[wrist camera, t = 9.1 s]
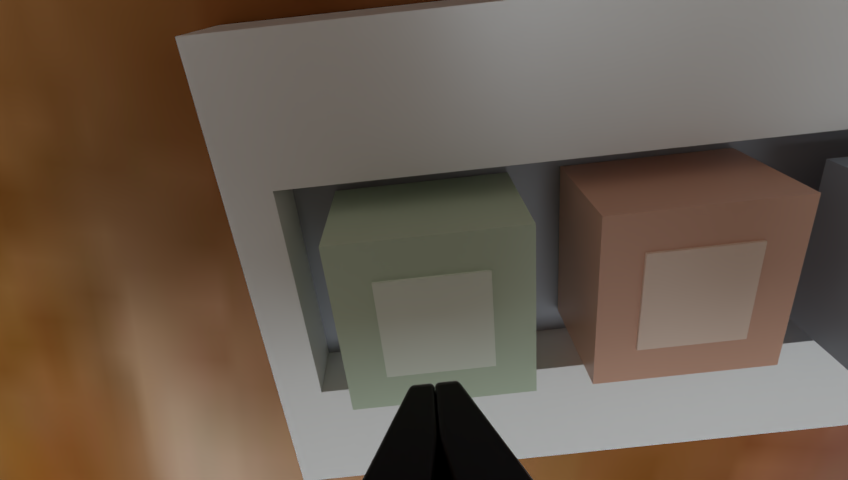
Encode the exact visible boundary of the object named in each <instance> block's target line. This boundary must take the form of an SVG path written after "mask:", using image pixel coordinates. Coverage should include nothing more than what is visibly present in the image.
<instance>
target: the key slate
mask: <svg viewBox="0 0 848 480" xmlns="http://www.w3.org/2000/svg"><path fill="white" fill-rule="evenodd" d="M818 192H820V193H821V196H820V200H819V203H818V207H817V211H816V215H815V219H814V223H813V227H812V231H811V235H810V239H809V243H808V247H807V250H806V254H805V258H804V262H803V266H802V270H801V274H800V278H799V282H798V286H797V290H796V294H795V298H794V301H793V305H792V309H791V313H790V317H789V319H790V320H791V321H792V322H793V323H795V324H796V325H797V326H798V327H799V328H800V329H801V330H803V331H804V332H805V333H806V334H807V335H808V336H809V337H811V338H812V339H813V340H814V341H815V342H816V343H817V344H819V345H820V346H821V347H822V348H823V349H824V350H825V351H827V352H828V353H829V354H830V355H831V356H832V357H833V358H835V359H836V360H837V361H838V362H839V363H840V364H841V365H842V366H844V367H845V368H846V369H847V370H848V157H840V158H830V159H826V163H825V167H824V171H823V175H822V179H821V183H820V187H819V191H818Z"/></svg>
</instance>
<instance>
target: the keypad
mask: <svg viewBox="0 0 848 480" xmlns="http://www.w3.org/2000/svg"><path fill="white" fill-rule="evenodd" d="M175 39H176V43H177V46H178V49H179V53H180V56H181V60H182V63H183V67H184V70H185V74H186V77H187V80H188V84H189V87H190V91H191V94H192V98H193V101H194V104H195V108H196V111H197V115H198V118H199V122H200V125H201V129H202V132H203V135H204V139H205V142H206V146H207V149H208V153H209V156H210V159H211V163H212V166H213V170H214V173H215V177H216V180H217V184H218V187H219V190H220V194H221V197H222V201H223V204H224V208H225V211H226V214H227V218H228V221H229V225H230V228H231V232H232V235H233V239H234V242H235V245H236V249H237V252H238V256H239V259H240V263H241V266H242V269H243V273H244V276H245V280H246V283H247V287H248V290H249V294H250V297H251V300H252V304H253V307H254V311H255V314H256V318H257V321H258V325H259V328H260V331H261V335H262V338H263V342H264V345H265V349H266V352H267V355H268V359H269V362H270V366H271V369H272V373H273V376H274V380H275V383H276V386H277V390H278V393H279V397H280V400H281V404H282V407H283V410H284V414H285V417H286V421H287V424H288V428H289V431H290V435H291V438H292V441H293V445H294V448H295V452H296V455H297V459H298V462H299V465H300V469H301V472H302V476H303V479H304V480H321V479H330V478H340V477H349V476H359V475H365V474H366V472H367V470H368V468H369V466H370V464H371V462H372V460H373V458H374V456H375V454H376V452H377V450H378V448H379V446H380V444H381V442H382V440H383V438H384V436H385V434H386V432H387V430H388V428H389V426H390V425H391V423H392V421H393V419H394V417H395V415H396V413H397V411H398V409H399V407H400V405H396V406H386V407H377V408H367V409H358V410H353V407H352V403H351V398H350V393H349V388H348V384H347V379H346V374H345V370H344V365H343V360H342V355H341V351H340V346H339V341H338V337H337V332H336V327H335V322H334V318H333V313H332V308H331V304H330V299H329V294H328V289H327V285H326V280H325V275H324V271H323V266H322V261H321V256H320V252H319V244H320V241H321V237H322V234H323V231H324V227H325V224H326V221H327V217H328V214H329V211H330V207H331V204H332V201H333V197H334V194H335V191H339V190H348V189H357V188H366V187H376V186H385V185H394V184H404V183H413V182H422V181H432V180H441V179H450V178H459V177H469V176H478V175H487V174H497V173H506V172H507V173H508V174H509V176H510V178H511V180H512V182H513V183H514V185H515V187H516V189H517V191H518V192H519V194H520V196H521V198H522V200H523V202H524V203H525V205H526V207H527V209H528V211H529V212H530V214H531V216H532V218H533V220H534V221H535V223H536V371H537V391H530V392H520V393H511V394H501V395H491V396H482V397H472V399H473V401H474V402H475V403H476V405H477V406H478V407H479V409H480V410H481V411H482V413H483V414H484V415H485V417H486V418H487V419H488V421H489V422H490V423H491V425H492V426H493V427H494V428H495V430H496V431H497V432H498V434H499V435H500V436H501V438H502V439H503V440H504V442H505V443H506V444H507V446H508V447H509V448H510V450H511V451H512V452H513V454H514V455H515V456H516V458H517V459H523V458H533V457H542V456H552V455H561V454H571V453H581V452H590V451H600V450H610V449H619V448H629V447H639V446H648V445H658V444H667V443H677V442H687V441H696V440H706V439H716V438H725V437H735V436H744V435H754V434H764V433H773V432H783V431H793V430H802V429H812V428H822V427H831V426H841V425H848V370H847V369H846V368H845V367H844V366H842V365H841V364H840V363H839V362H838V361H837V360H836V359H835V358H833V357H832V356H831V355H830V354H829V353H828V352H827V351H825V350H824V349H823V348H822V347H821V346H820V345H819V344H817V343H816V342H815V341H814V340H813V339H812V338H811V337H809V336H808V335H807V334H806V333H805V332H804V331H803V330H801V329H800V328H799V327H798V326H797V325H796V324H795V323H793V322H792V321H791V320H790V319H789V321H788V325H787V329H786V333H785V337H784V341H783V345H782V348H781V352H780V356H779V360H778V364H777V365H771V366H762V367H752V368H742V369H733V370H723V371H714V372H704V373H695V374H685V375H676V376H666V377H657V378H647V379H637V380H628V381H618V382H609V383H599V384H593V383H592V381H591V379H590V377H589V375H588V373H587V371H586V368H585V366H584V364H583V362H582V360H581V358H580V356H579V354H578V352H577V350H576V347H575V345H574V343H573V341H572V339H571V337H570V335H569V333H568V331H567V328H566V326H565V324H564V322H563V320H562V318H561V316H560V314H559V312H558V265H559V209H560V166H568V165H578V164H587V163H596V162H605V161H615V160H624V159H633V158H643V157H652V156H661V155H670V154H680V153H689V152H698V151H708V150H717V149H726V148H734V149H736V150H738V151H740V152H742V153H744V154H746V155H748V156H750V157H752V158H754V159H756V160H758V161H760V162H762V163H764V164H766V165H767V166H769V167H771V168H773V169H775V170H777V171H779V172H781V173H783V174H785V175H787V176H789V177H791V178H793V179H795V180H797V181H799V182H801V183H803V184H805V185H807V186H809V187H810V188H812V189H814V190H816V191H819V187H820V183H821V179H822V175H823V171H824V167H825V163H826V159H830V158H840V157H848V0H443V1H434V2H425V3H415V4H406V5H397V6H388V7H379V8H370V9H361V10H352V11H343V12H334V13H325V14H315V15H306V16H297V17H288V18H279V19H270V20H261V21H252V22H243V23H234V24H225V25H217V26H213V27H209V28H206V29H202V30H198V31H194V32H190V33H187V34H183V35H179V36H175Z"/></svg>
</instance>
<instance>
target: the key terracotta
mask: <svg viewBox="0 0 848 480" xmlns="http://www.w3.org/2000/svg"><path fill="white" fill-rule="evenodd" d="M820 196H821V193H820V192H818V191H816V190H814V189H812V188H810V187H809V186H807V185H805V184H803V183H801V182H799V181H797V180H795V179H793V178H791V177H789V176H787V175H785V174H783V173H781V172H779V171H777V170H775V169H773V168H771V167H769V166H767V165H766V164H764V163H762V162H760V161H758V160H756V159H754V158H752V157H750V156H748V155H746V154H744V153H742V152H740V151H738V150H736V149H734V148H726V149H717V150H708V151H698V152H689V153H680V154H670V155H661V156H652V157H643V158H633V159H624V160H615V161H605V162H596V163H587V164H578V165H568V166H560V209H559V265H558V312H559V314H560V316H561V318H562V320H563V322H564V324H565V326H566V328H567V331H568V333H569V335H570V337H571V339H572V341H573V343H574V345H575V347H576V350H577V352H578V354H579V356H580V358H581V360H582V362H583V364H584V366H585V368H586V371H587V373H588V375H589V377H590V379H591V381H592V383H593V384H599V383H609V382H618V381H628V380H637V379H647V378H657V377H666V376H676V375H685V374H695V373H704V372H714V371H723V370H733V369H742V368H752V367H762V366H771V365H777V364H778V360H779V356H780V352H781V348H782V345H783V341H784V337H785V333H786V329H787V325H788V321H789V317H790V313H791V309H792V305H793V301H794V298H795V294H796V290H797V286H798V282H799V278H800V274H801V270H802V266H803V262H804V258H805V254H806V250H807V247H808V243H809V239H810V235H811V231H812V227H813V223H814V219H815V215H816V211H817V207H818V203H819V200H820Z"/></svg>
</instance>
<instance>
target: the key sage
mask: <svg viewBox="0 0 848 480" xmlns="http://www.w3.org/2000/svg"><path fill="white" fill-rule="evenodd" d="M319 252H320V256H321V261H322V266H323V271H324V275H325V280H326V285H327V289H328V294H329V299H330V304H331V308H332V313H333V318H334V322H335V327H336V332H337V337H338V341H339V346H340V351H341V355H342V360H343V365H344V370H345V374H346V379H347V384H348V388H349V393H350V398H351V403H352V407H353V410H358V409H367V408H377V407H386V406H396V405H401V403H402V401H403V399H404V397H405V395H406V393H407V391H408V389H409V388H410V387H411V386H412V385H419V384H428V383H431V384H433V385H434V387H435V385H436V384H437V383H439V382H447V381H458V382H460V383H461V385H462V386H463V387H464V389H465V390H466V391H467V393H468V394H469V395H470V397H471V398H472V397H482V396H491V395H501V394H511V393H520V392H530V391H537V371H536V223H535V221H534V220H533V218H532V216H531V214H530V212H529V211H528V209H527V207H526V205H525V203H524V202H523V200H522V198H521V196H520V194H519V192H518V191H517V189H516V187H515V185H514V183H513V182H512V180H511V178H510V176H509V174H508V173H507V172H506V173H497V174H487V175H478V176H469V177H459V178H450V179H441V180H432V181H422V182H413V183H404V184H394V185H385V186H376V187H366V188H357V189H348V190H339V191H335V194H334V197H333V201H332V204H331V207H330V211H329V214H328V217H327V221H326V224H325V227H324V231H323V234H322V237H321V241H320V244H319Z"/></svg>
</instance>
